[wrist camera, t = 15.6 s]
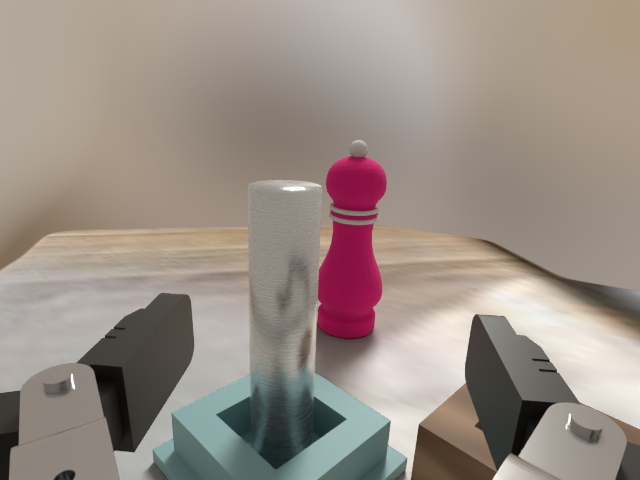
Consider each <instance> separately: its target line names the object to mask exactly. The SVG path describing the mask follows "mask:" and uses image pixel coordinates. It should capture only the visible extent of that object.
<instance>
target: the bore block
mask: <svg viewBox="0 0 640 480" xmlns="http://www.w3.org/2000/svg"><path fill="white" fill-rule="evenodd" d="M579 403H580V402H579ZM580 404H581V405H584V404H582V403H580ZM584 406H587V405H584ZM587 407H589V406H587ZM589 408H591V407H589ZM592 409H593V408H592ZM594 410H595V409H594ZM597 411H598V410H597ZM599 412H600V411H599ZM601 413H602V412H601ZM602 414H604V413H602ZM604 415H606V416H607V417H609V418H610V419H612V420H613V421H614V422H615V423H616V424H617V425H618V426H619V427H620V428H621V429H622V431H623V432H624V434H625V436H626V439H627V441H628V442H630V443H633V444H636V445H639V446H640V429H638V428H636V427H633V426H631V425H629V424H627V423H624V422H622V421H620V420H618V419H615V418H613V417H611V416H609V415H607V414H604ZM496 473H497V470H496V467H495V464H494V461H493V459H492V456H491V453H490V450H489V447H488V445H487V442H486V439H485V436H484V433H483V431H482V428H481V425H480V422H479V419H478V416H477V414H476V411H475V408H474V405H473V402H472V400H471V397H470V394H469V391H468V388H467V385H466V383H465V384H464V385H463V386H462V387H461V388H460V389H459V390H457V391H456V392H455V393H454V394H453V395H452V396H451V397H449V398H448V399H447V400H446V401H445V402H444V403H443V404H442V405H440V406H439V407H438V408H437V409H436V410H435V411H434V412H432V413H431V414H430V415H429V416H428V417H427V418H426V419H424V420H423V421H422V422H421V423H420V424H419V428H418V435H417V442H416V449H415V455H414V462H413V469H412V476H411V480H492V479H493V478H494V476H495V475H496Z"/></svg>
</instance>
